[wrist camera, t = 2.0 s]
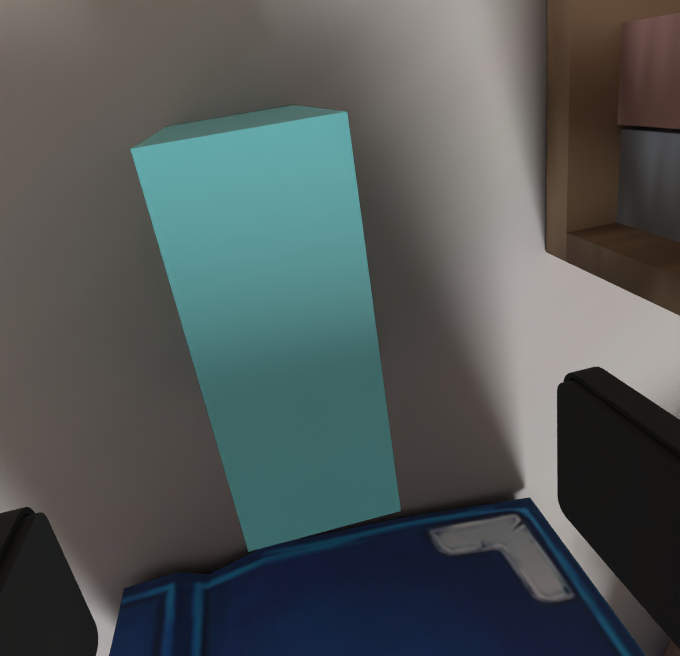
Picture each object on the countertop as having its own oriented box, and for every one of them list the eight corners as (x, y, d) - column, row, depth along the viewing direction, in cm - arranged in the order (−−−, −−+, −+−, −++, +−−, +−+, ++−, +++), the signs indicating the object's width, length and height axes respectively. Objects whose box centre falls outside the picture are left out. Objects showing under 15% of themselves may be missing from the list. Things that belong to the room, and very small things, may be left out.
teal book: (166, 126, 19) (130, 149, 11) (293, 104, 20) (347, 111, 12) (237, 395, 24) (248, 551, 16) (339, 372, 24) (400, 510, 16)
